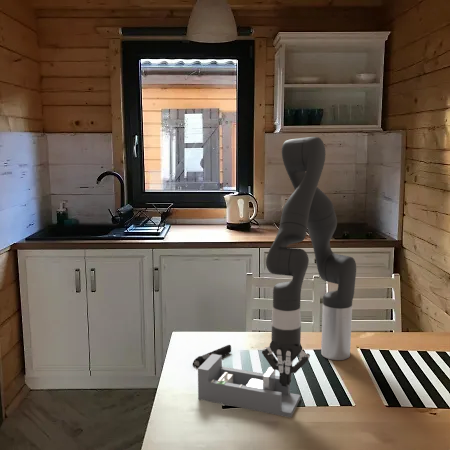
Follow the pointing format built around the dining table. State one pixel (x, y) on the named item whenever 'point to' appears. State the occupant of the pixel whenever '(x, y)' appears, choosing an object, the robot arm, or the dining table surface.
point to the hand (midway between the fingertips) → (285, 385)
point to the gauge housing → (243, 389)
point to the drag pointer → (226, 378)
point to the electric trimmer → (202, 359)
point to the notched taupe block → (264, 381)
